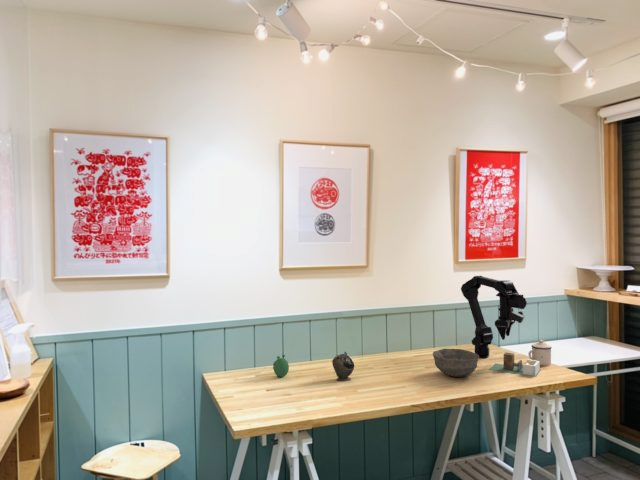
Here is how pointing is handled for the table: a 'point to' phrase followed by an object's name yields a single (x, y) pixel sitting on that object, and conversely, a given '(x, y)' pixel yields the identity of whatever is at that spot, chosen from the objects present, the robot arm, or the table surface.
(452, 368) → the bowl
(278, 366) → the alien toy
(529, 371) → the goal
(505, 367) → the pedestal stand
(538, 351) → the teacup with lid
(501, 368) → the pitch
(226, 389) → the table surface
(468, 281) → the robot arm
